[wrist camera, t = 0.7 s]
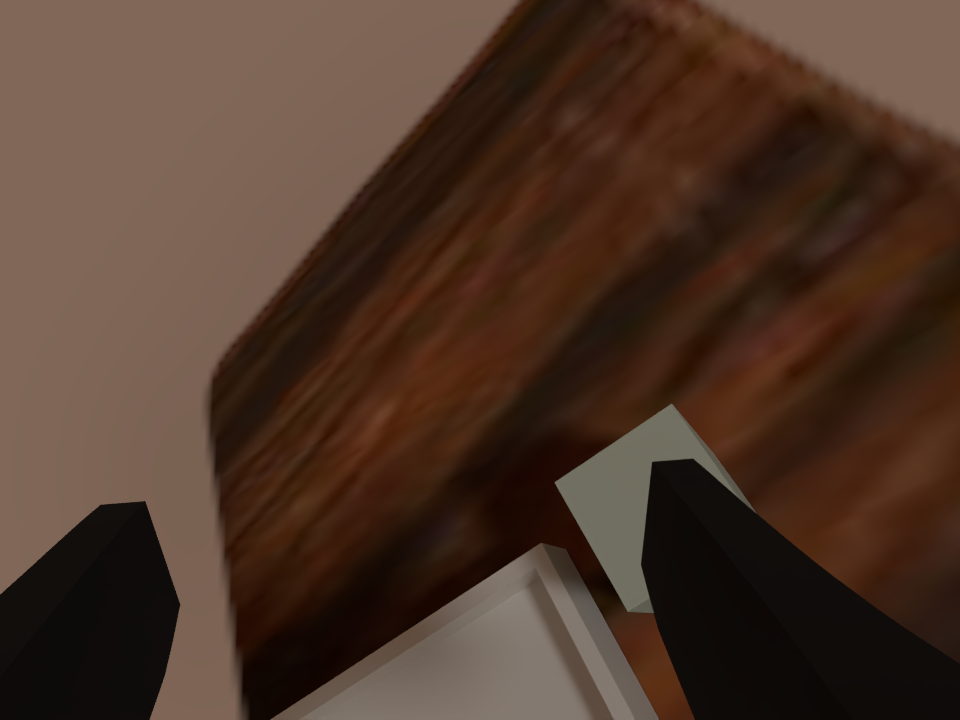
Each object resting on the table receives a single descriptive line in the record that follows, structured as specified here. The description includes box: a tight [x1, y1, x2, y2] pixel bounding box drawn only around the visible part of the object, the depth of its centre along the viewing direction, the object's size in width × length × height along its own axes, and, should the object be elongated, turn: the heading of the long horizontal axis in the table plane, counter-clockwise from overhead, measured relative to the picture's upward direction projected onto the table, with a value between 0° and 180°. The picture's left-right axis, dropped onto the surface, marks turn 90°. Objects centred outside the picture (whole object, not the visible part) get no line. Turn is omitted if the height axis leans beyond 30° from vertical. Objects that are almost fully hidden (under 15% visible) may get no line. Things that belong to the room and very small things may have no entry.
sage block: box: [555, 404, 757, 613], centre depth 22 cm, size 4×4×7 cm
